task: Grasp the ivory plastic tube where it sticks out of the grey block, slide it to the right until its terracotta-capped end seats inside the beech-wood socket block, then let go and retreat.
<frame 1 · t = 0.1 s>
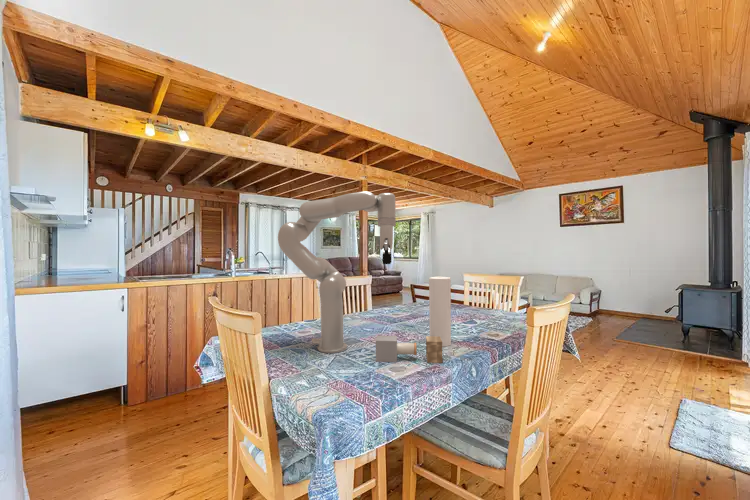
hand: (387, 263, 137), 37 cm above the table, tool pointing down, fingers open, 9 cm apart
socket: (434, 359, 125), on the table
tube: (397, 348, 126), point 4 cm above the table, slide at 0.0 cm
cylinder container: (440, 343, 146), on the table
grey block: (386, 358, 127), on the table
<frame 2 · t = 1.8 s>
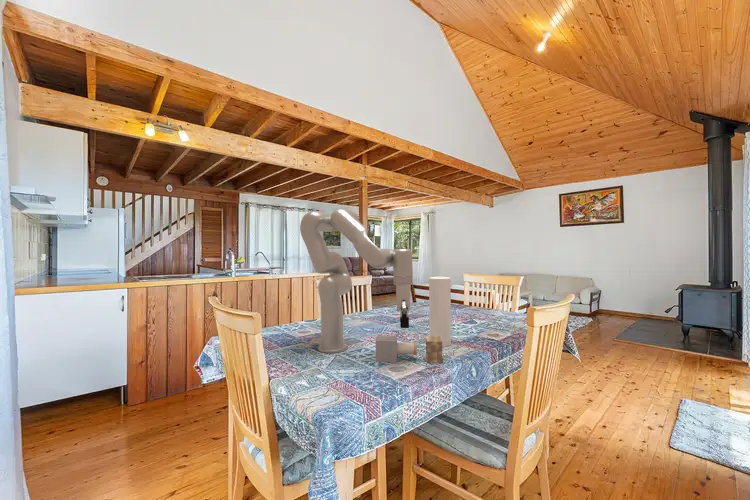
hand: (404, 324, 126), 13 cm above the table, tool pointing down, fingers open, 9 cm apart
nothing on the table moved.
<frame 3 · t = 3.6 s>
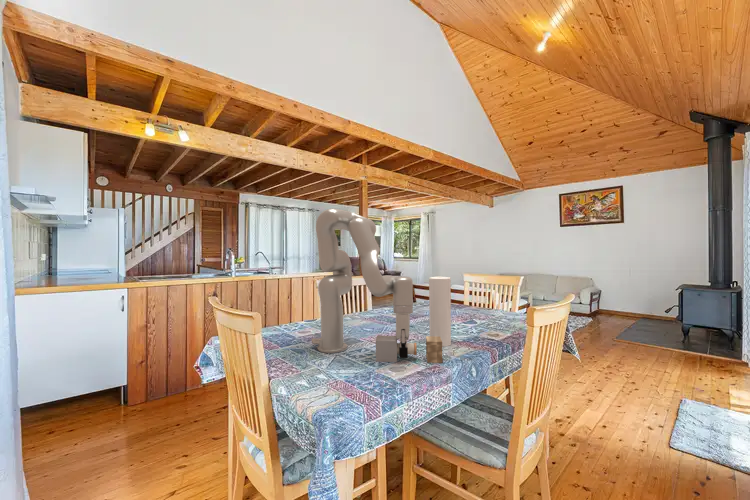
hand: (403, 355, 126), 2 cm above the table, tool pointing down, fingers closed on tube, 4 cm apart
tube: (397, 348, 126), point 4 cm above the table, slide at 0.0 cm, touching gripper
everything else where it was.
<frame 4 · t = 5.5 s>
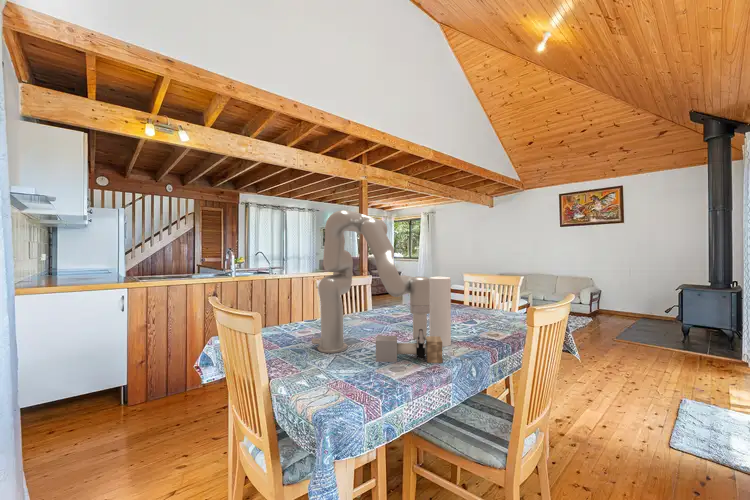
hand: (420, 355, 126), 2 cm above the table, tool pointing down, fingers closed on tube, 4 cm apart
tube: (413, 348, 126), point 4 cm above the table, slide at 6.5 cm, touching gripper
everything else where it was.
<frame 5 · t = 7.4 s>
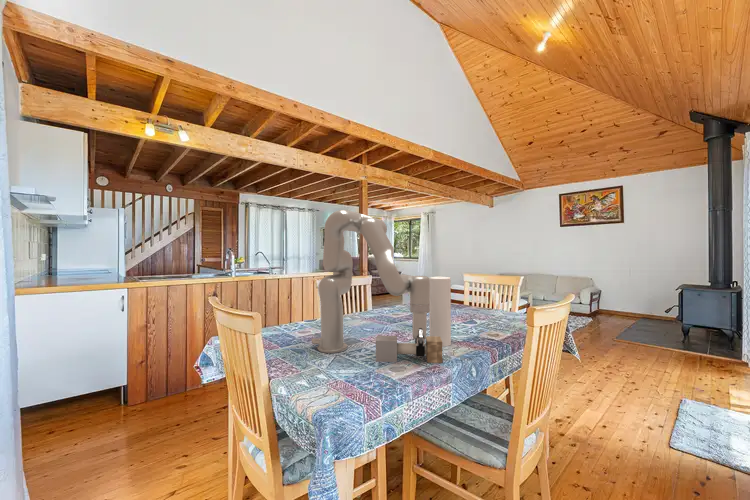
hand: (419, 351, 126), 3 cm above the table, tool pointing down, fingers open, 9 cm apart
tube: (413, 348, 126), point 4 cm above the table, slide at 6.5 cm
everything else where it was.
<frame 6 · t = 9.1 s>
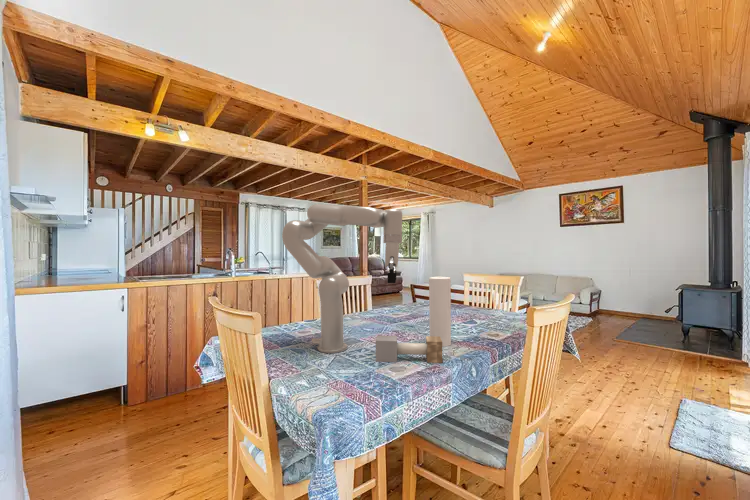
hand: (392, 281, 133), 29 cm above the table, tool pointing down, fingers open, 9 cm apart
nothing on the table moved.
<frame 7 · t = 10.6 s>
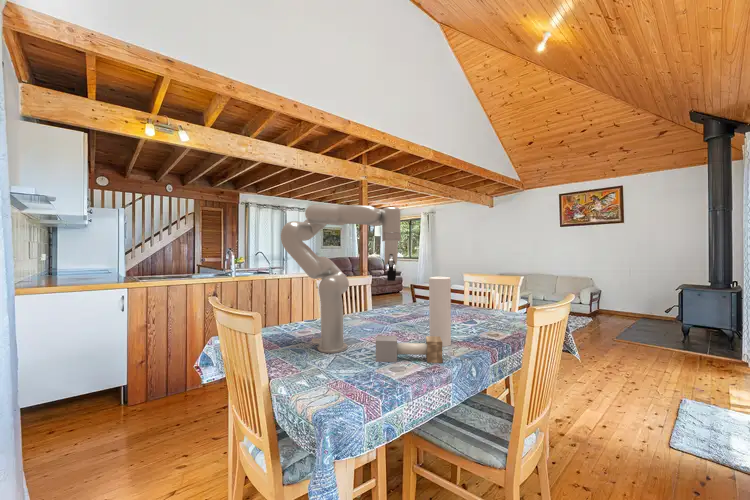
hand: (391, 279, 133), 30 cm above the table, tool pointing down, fingers open, 9 cm apart
nothing on the table moved.
at the end: tube slide at 6.5 cm; the gripper is holding nothing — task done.
